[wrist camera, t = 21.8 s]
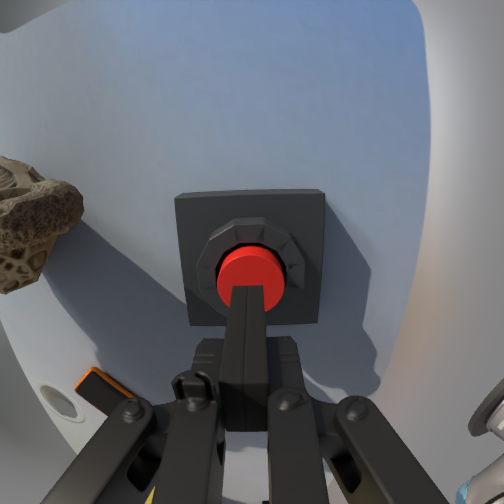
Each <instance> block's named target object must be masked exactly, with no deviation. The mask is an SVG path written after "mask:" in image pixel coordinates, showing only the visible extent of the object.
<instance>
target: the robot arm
mask: <svg viewBox="0 0 504 504" xmlns="http://www.w3.org/2000/svg"><path fill="white" fill-rule="evenodd" d="M172 387H173V390H174V393H175V396H176V399H177V400H175V401H173V402H170V403H167V404H161V405H154V406H151V404H150V403H149V402H148V401H147V400H145V399H143V398H138V397H134V398H128V399H126V400H123V401H122V402H120V403H119V404H118V405H117V406H116V407H115V409H114V410H113V411H112V412H111V414H110V415H109V416H108V418H107V419H106V420H105V421H104V423H103V424H102V425H101V426H100V428H99V429H98V430H97V431H96V433H95V434H94V435H93V436H92V438H91V439H90V440H89V441H88V443H87V444H86V445H85V447H84V448H83V449H82V450H81V452H80V453H79V454H78V455H77V457H76V458H75V459H74V461H73V462H72V463H71V465H70V466H69V467H68V468H67V470H66V471H65V472H64V473H63V475H62V476H61V477H60V479H59V480H58V481H57V482H56V484H55V485H54V486H53V488H52V489H51V490H50V491H49V493H48V494H47V495H46V497H45V498H44V499H43V501H42V502H41V503H40V504H145V502H146V500H147V499H148V497H149V495H150V494H151V492H152V490H153V488H154V486H155V489H154V493H153V497H152V502H151V504H221V502H222V489H223V476H224V463H225V450H226V441H225V427H226V431H229V432H262V431H268V450H267V454H268V473H269V504H329V499H328V492H327V485H326V479H325V473H324V467H323V462H322V457H324V458H325V460H326V462H327V464H328V466H329V468H330V470H331V472H332V474H333V476H334V478H335V479H336V481H337V483H338V485H339V487H340V489H341V490H342V493H343V495H344V496H345V498H346V500H347V502H348V504H449V502H448V501H447V500H446V498H445V497H444V495H443V494H442V493H441V491H440V490H439V489H438V487H437V486H436V485H435V483H434V482H433V481H432V480H431V478H430V477H429V475H428V474H427V473H426V471H425V470H424V469H423V467H422V466H421V465H420V463H419V462H418V461H417V459H416V458H415V457H414V455H413V454H412V453H411V451H410V450H409V449H408V448H407V446H406V445H405V443H404V442H403V441H402V439H401V438H400V437H399V435H398V434H397V433H396V432H395V430H394V429H393V428H392V426H391V425H390V423H389V422H388V421H387V420H386V418H385V417H384V416H383V414H382V413H381V412H380V410H379V409H378V408H377V407H376V405H375V404H374V403H373V402H372V401H371V400H370V399H368V398H365V397H363V396H349V397H346V398H344V399H342V400H341V401H340V402H339V403H338V404H333V403H326V402H322V401H318V400H316V399H314V398H313V397H311V396H310V395H309V394H308V392H307V391H306V388H305V384H304V379H303V374H302V368H301V363H300V358H299V354H298V348H297V344H296V342H295V341H294V340H293V339H292V338H291V337H290V336H286V337H266V323H265V307H264V291H263V285H248V286H232V292H231V299H230V306H229V312H228V319H227V325H226V332H225V339H206V338H204V339H203V340H202V341H201V342H200V343H199V344H198V345H197V348H196V352H195V356H194V359H193V363H192V367H191V370H188V371H185V372H182V373H180V374H179V375H177V376H176V377H175V378H174V379H173V381H172ZM485 426H486V427H487V429H488V430H489V431H490V432H493V433H494V434H495V435H497V436H498V437H499V438H501V439H502V440H503V441H504V396H503V397H502V398H501V399H500V400H499V401H498V403H497V404H496V405H495V406H494V407H493V409H492V410H491V411H490V413H489V414H488V416H487V418H486V420H485ZM455 503H456V504H504V454H503V455H501V456H500V457H499V458H498V459H497V460H495V461H494V462H493V463H492V464H490V465H489V466H488V467H486V468H485V469H484V470H482V471H481V472H480V473H478V474H477V475H476V476H473V477H472V478H471V479H470V480H469V481H467V482H466V483H465V484H463V485H462V486H461V487H460V488H459V489H458V491H457V493H456V500H455Z"/></svg>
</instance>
